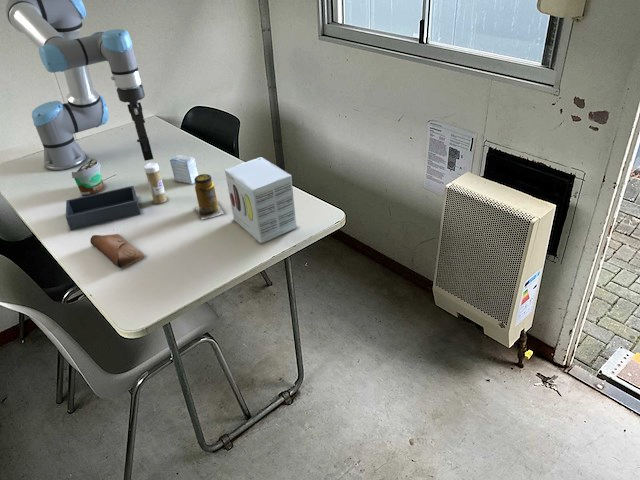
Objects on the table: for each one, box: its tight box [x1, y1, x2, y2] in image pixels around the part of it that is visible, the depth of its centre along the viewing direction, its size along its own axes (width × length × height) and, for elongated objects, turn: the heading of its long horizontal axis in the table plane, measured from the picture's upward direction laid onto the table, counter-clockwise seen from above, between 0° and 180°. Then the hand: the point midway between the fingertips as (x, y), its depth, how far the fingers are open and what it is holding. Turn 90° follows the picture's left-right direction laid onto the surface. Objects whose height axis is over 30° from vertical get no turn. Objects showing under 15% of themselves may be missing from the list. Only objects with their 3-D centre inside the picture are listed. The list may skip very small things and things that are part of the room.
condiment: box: [194, 173, 225, 220], centre depth 163 cm, size 7×8×12 cm
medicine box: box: [169, 154, 199, 185], centre depth 183 cm, size 8×4×9 cm, turn 65°
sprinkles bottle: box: [143, 162, 168, 204], centre depth 170 cm, size 5×5×14 cm
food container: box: [71, 157, 105, 197], centre depth 180 cm, size 12×6×10 cm, turn 168°
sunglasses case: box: [90, 233, 145, 269], centre depth 149 cm, size 18×7×7 cm
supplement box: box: [224, 156, 298, 244], centre depth 152 cm, size 17×13×18 cm
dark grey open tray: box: [65, 185, 141, 231], centre depth 168 cm, size 12×22×5 cm, turn 112°
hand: (146, 151), depth 164 cm, fingers open, 13 cm apart
